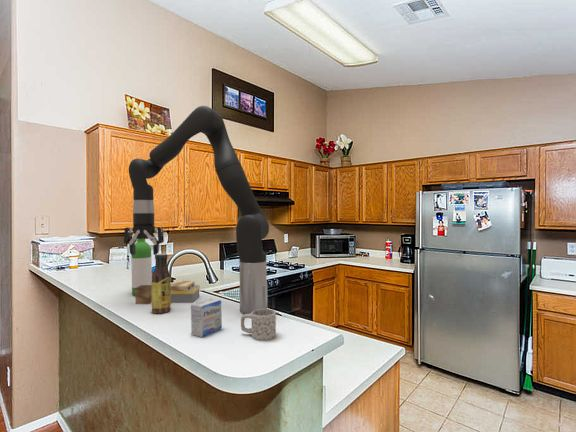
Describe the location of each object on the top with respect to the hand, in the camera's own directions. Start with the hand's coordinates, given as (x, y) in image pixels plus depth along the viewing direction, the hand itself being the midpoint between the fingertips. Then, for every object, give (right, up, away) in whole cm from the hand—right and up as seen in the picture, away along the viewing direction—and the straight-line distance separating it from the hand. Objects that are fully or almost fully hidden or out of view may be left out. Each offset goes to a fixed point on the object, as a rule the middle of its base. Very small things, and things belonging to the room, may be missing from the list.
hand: (144, 254), depth 130 cm
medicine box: (+32, -19, -32) cm, 49 cm away
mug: (+46, -19, -36) cm, 61 cm away
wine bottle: (-7, -18, +13) cm, 24 cm away
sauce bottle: (+11, -19, -12) cm, 25 cm away
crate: (0, -18, 0) cm, 18 cm away
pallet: (+13, -14, +4) cm, 19 cm away
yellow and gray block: (+13, -18, +4) cm, 22 cm away
